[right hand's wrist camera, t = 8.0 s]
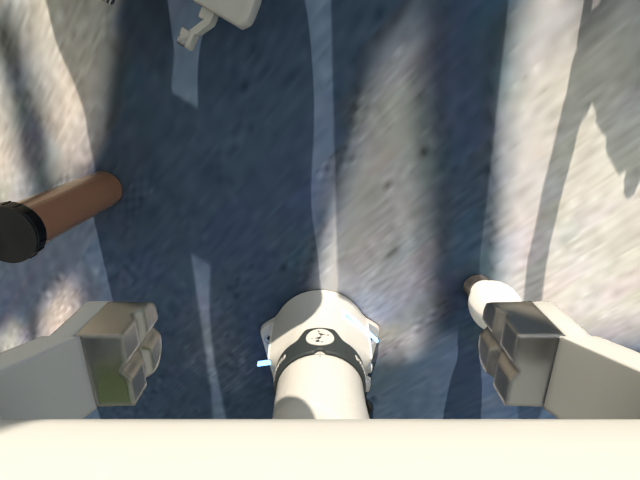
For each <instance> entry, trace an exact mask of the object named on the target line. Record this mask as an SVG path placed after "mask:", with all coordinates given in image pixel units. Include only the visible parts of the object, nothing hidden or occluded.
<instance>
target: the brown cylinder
mask: <svg viewBox="0 0 640 480" xmlns="http://www.w3.org/2000/svg"><path fill="white" fill-rule="evenodd" d="M121 197H122V187H121V184H120V182H119V180H118V179H117V178H116V177H115V176H114V175H112V174H110V173H108V172H105V171H97V172H94V173H91V174H89V175H86V176H83V177H81V178H78V179H76V180H73V181H70V182H68V183H65V184H62V185H60V186H57V187H54V188H52V189H49V190H46V191H44V192H41V193H38V194H36V195H33V196H30V197H28V198H25V199H22V200H20V201H17V203H22V204H23V205H25V206H27V207H29V208H31V209H33V211H34V212H36V213H37V214H38V216H39V217H40V218H41V219H42V221H43V223H44V225H45V228H46V232H47V240H46V243H48V242H50V241H51V240H53V239H55V238H57V237H58V236H60V235H62V234H64V233H65V232H67V231H69V230H71V229H72V228H74V227H76V226H78V225H79V224H81V223H83V222H85V221H86V220H88V219H90V218H92V217H93V216H95V215H97V214H99V213H100V212H102V211H104V210H106V209H107V208H109V207H111V206H113V205H114V204H116V203H117V202H119V200H120V199H121ZM46 243H45V244H46Z"/></svg>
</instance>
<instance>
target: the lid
mask: <svg viewBox="0 0 640 480" xmlns="http://www.w3.org/2000/svg"><path fill="white" fill-rule="evenodd" d="M46 240H47V232H46V228H45V225H44V223H43V221H42V219H41V218H40V217H39V216H38V214H37V213H36V212H34V211H33V209H31V208H29V207H27V206H25V205H23V204H22V203H17V202H11V201H8V202H2V203H0V260H1V261H4V262H9V263H18V262H22V261H25V260H27V259H28V258H32V257H34V256H35V255H37V254H38V253H39V252H40V251H41V250H42V249H43V248H44V246H45V243H46Z"/></svg>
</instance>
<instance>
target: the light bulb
mask: <svg viewBox="0 0 640 480" xmlns="http://www.w3.org/2000/svg"><path fill="white" fill-rule="evenodd" d="M463 288H464V291H465V293H466V294H467V296H468V297H469V300H468V307H469V311H470V314H471V316H472V318H473V319H474V321H475V322H476V323H477V324H478V325H479V326H480V327H481V328H483V329H485V328H486V327H487V325H486V324H485V322H484V321H483V319H482V316H483V310H484V307H485V305H486V303H490V302H522V301H521V299H520V297H519V295H518V294H517V293H516V292H515V291H514V290H513V289H512V288H511V287H510V286H508V285H506V284H504V283H502V282H498V281H489V279H488V278H487V277H485V276H482V275H474V276H471V277H469V278H468V279H467V280H466V281H465V283H464V286H463Z"/></svg>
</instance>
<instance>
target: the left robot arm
mask: <svg viewBox="0 0 640 480" xmlns="http://www.w3.org/2000/svg"><path fill="white" fill-rule="evenodd" d="M103 1H105V2H106V3H109V4H111V5H112V4H113V3H114V2H115V0H103ZM192 1H194V2H196V3H198V4H199V5H201V6H202V8H201V10H200V13H199V17H200V18H202V19H203V20H202V21H201V22H200V23H198V24H197V25H196V26H194V27H193V28H192V29H190V30H188V29H186V28H183V27H182V28H181V31H180V36H179V37H178V38H177V43H178V44H180V45H181V46H183V47H185V48H186V49H188V50H190V51H193V49H194V48H195V45H196V43H197V40H198V38H199V36H202V35H203V34H205V33H206V32H208V31H209V30H211V29H212V28H214V27H215V25H216V23H217V20H218V18H219V17H221V18H223V19H224V20H226V21H228V22H229V23H231V24H233V25H234V26H236V27H238V28H240V29H241V30H244V29H246V28H248V27H250V26H252V24H253V23H254V21H255V18H256V16H257V13H258V11H259V8H260V5H261V2H262V0H192Z"/></svg>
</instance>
